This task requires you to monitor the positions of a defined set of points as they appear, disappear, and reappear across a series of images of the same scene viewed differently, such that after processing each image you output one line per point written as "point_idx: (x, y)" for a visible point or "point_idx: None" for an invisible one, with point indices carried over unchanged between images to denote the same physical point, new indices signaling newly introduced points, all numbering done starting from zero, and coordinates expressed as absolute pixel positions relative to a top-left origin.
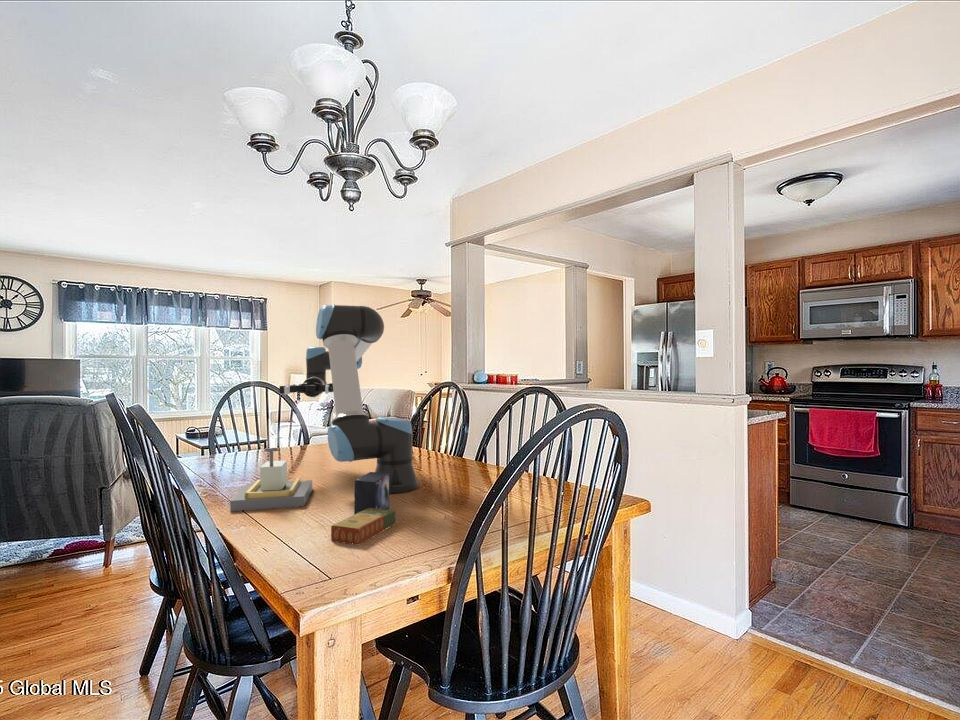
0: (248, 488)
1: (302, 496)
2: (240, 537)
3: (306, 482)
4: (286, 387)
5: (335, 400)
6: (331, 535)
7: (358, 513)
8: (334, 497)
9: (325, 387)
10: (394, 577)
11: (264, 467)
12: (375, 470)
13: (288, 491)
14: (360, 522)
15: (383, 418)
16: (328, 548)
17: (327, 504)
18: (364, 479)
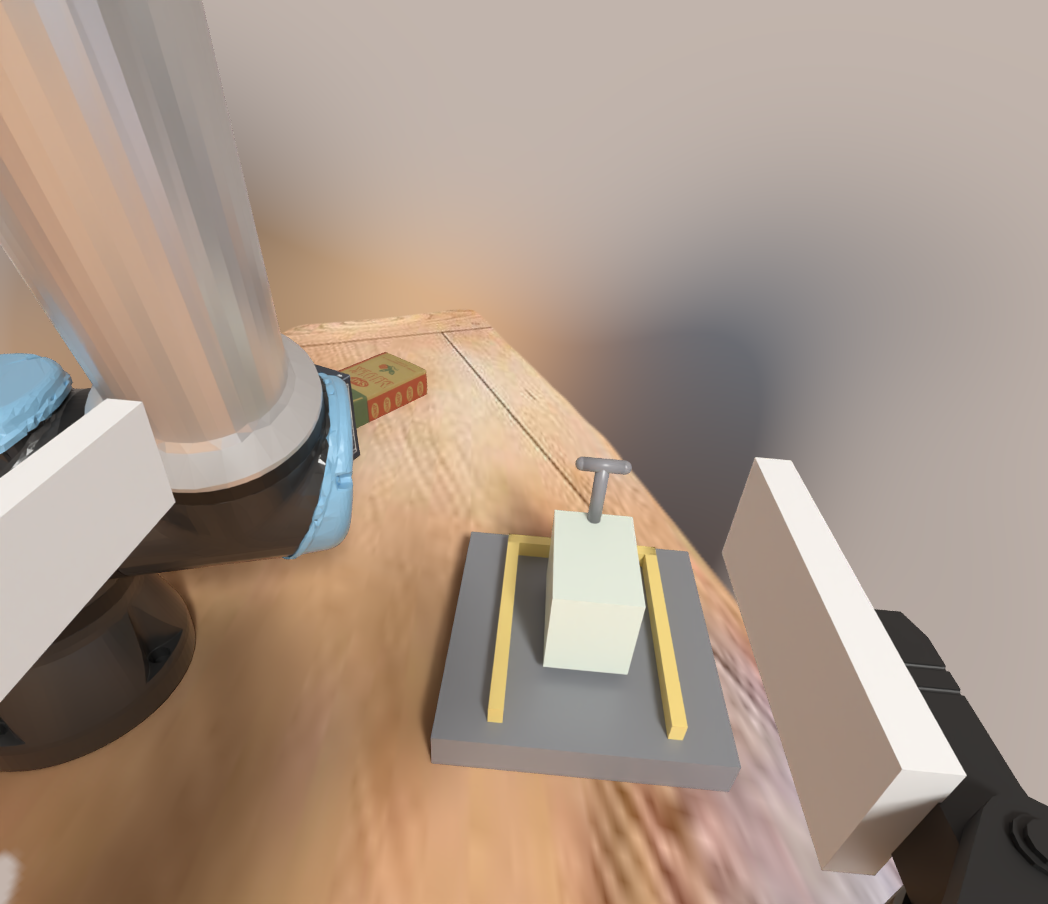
0: (694, 676)
1: (475, 532)
2: (586, 436)
3: (459, 702)
4: (755, 464)
5: (271, 296)
6: (426, 385)
7: (364, 394)
8: (363, 615)
9: (145, 418)
10: (372, 321)
11: (617, 516)
12: (135, 634)
13: (519, 536)
14: (376, 363)
15: (35, 367)
16: (435, 378)
17: (400, 555)
18: (325, 372)
